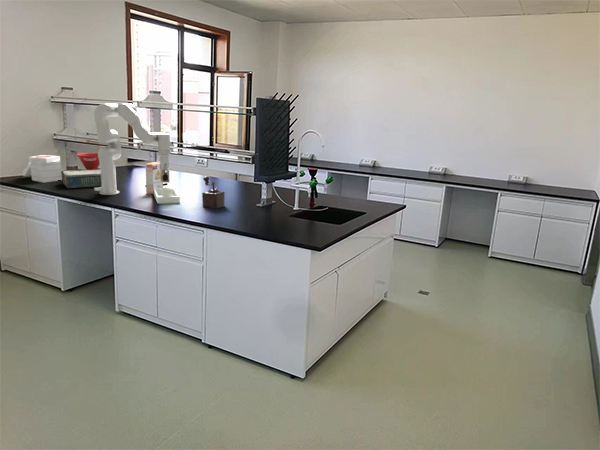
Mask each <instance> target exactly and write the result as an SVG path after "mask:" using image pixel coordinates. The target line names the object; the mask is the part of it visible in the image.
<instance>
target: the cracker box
mask: <svg viewBox="0 0 600 450" xmlns="http://www.w3.org/2000/svg"><path fill="white" fill-rule="evenodd" d="M145 183H146V184H145V185H146V186H145V188H146V189H145V190H146V194H149V195H154V189H156V188H164V182H163V183H162V182H161V169H160V161H154V162H149V163H145Z"/></svg>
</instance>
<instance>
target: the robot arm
mask: <svg viewBox="0 0 600 450" xmlns="http://www.w3.org/2000/svg"><path fill="white" fill-rule="evenodd" d="M93 117H94V122H95V129H96V136H97V140H98V144H99V145H103V146H104V147H100V149H98V152H97V153H98V158H99V162H100V164H99V169H100V171H101V186H99V187H94V191H97V192H99V194H100V195H102V196H103V195H104V196H113V195H118V194H119V193H120V190H118V189H117V188H118V187H117V172H116V171H117V170H116V164H115V162H114V161H117V160H118V159H120V158H121V157H122V146H121V137H120V134H119V133H118V131H116V130H115V129H111V125H110V121H109V119H108V118H109V117H111V118H113V117H115V118H116V117H121V118H122V119H123V120H124V121H125V122H126V123H127V124H128V125H129V126H130V127H131V128H132V131H133V133H134V135H135V136H136V137H137V138H138V139H139V140H140V141H141V142H143V144H145V145H149V146H150V145H156V144H157V155H158V156H159V162H160V169H161V170H162V169H163V181H168V171H167V170H168V169H169V168H170V167H169V166H170V165H169V164H170V163H169V162H170V161H169V156H170V155H171V142H170V141H171V139H170V134H169V133H166V132H157V131H153V132H149V131H148V130H147V129H146V128H144V127H143V124H142V123H143V118H142V117H141V116H140V115H139V114H138V110H137V107H136V106H135V105H134V104H132V103H129V102H128V103H109V102H105V103H101V104H99V105H97V106H95V108H94V111H93ZM164 169H165V170H164Z"/></svg>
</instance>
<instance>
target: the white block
mask: <svg viewBox="0 0 600 450" xmlns="http://www.w3.org/2000/svg"><path fill="white" fill-rule="evenodd" d="M172 188H173V187H163V189H162V197H173V189H172Z"/></svg>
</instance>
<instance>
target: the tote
mask: <svg viewBox="0 0 600 450" xmlns="http://www.w3.org/2000/svg"><path fill="white" fill-rule="evenodd" d="M163 188H164V187H163ZM163 188H156V189H154V194H153V196H154V199H155V201H156V203H157V205H158V204H159V205H160V204H180V203H181V202H180V201H181V200H180V199H181V197H180V195H179V193H178V192H177V190H176V189H175V188H174V187H171V188H172V189H173V197H162V189H163Z"/></svg>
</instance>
